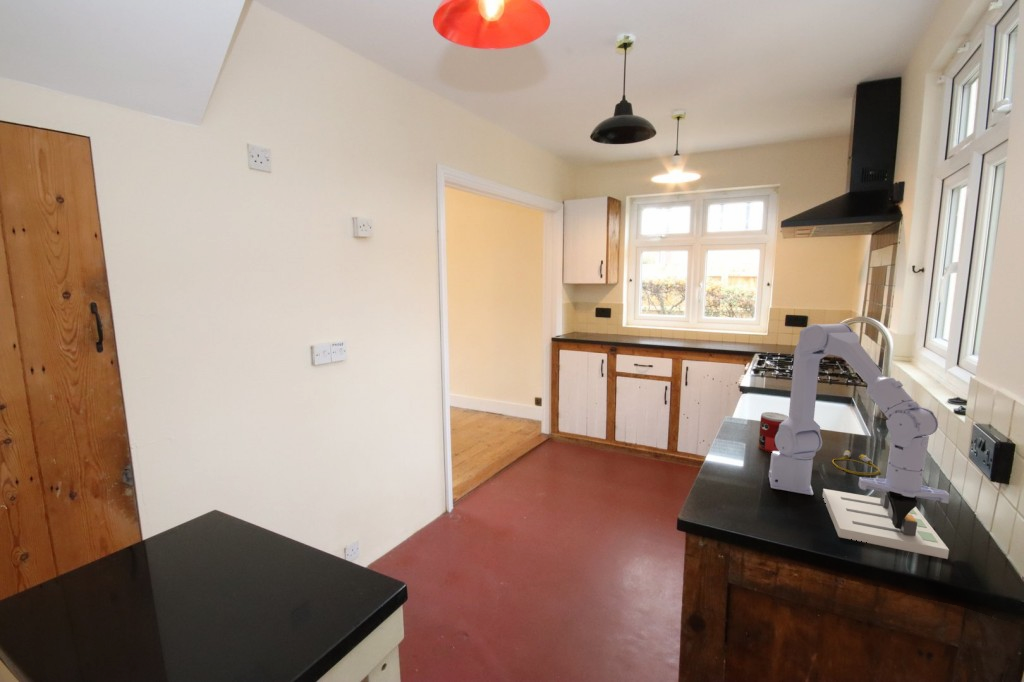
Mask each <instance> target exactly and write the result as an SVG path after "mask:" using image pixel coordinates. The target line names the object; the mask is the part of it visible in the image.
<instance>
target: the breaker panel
mask: <svg viewBox="0 0 1024 682" xmlns="http://www.w3.org/2000/svg"><path fill="white" fill-rule="evenodd" d="M880 493H881V494H880V497H875V496H868V495H863V494H858V493H851V492H845V491H839V490H834V489H827V488H823V489H822V498H824V499H823V501H824V503H826V504H825V506H826V508H827V511H828V513H829V517H830V518H831V521H832V523H833V525H834V529H835V532H836V533H837V536H838V538H842V539H848V540H851V539H852V541H856V540H857V542H861V541H862V542H861V543H866V542H867V544H870V545H871V544H872V545H875V546H877V545H878V546H881V547H887V548H892V549H896V550H902V551H906V552H911V553H916V554H920V555H921V554H922V555H926V556H932V557H937V558H940V559H946V560H949V559H948V558H949V554H950V553H949V552H950V549H949V548H948V546H947V545H946V543H945V542H944V541H943V540H942V538H940V536H939V535H938V533H937V532H936V531H935V530H934V528H933V527H932V526H931V525H930V523H929V522H928V520H927V519H926V518H925V517H924V516H923V514H922V513H921V511H920V510H919V508H917V506H916V507H915V508H913V509H912V510H911V511H910V512H909V513H908V514H909V515H912V516H913V517H914V518H915V520H916V521H917V529H916V535H915V536H912V535H906V534H903V533H902V531H901V530H900V529H897V528H895V527H894V525H893V524H892V520H893V511H892V507H891V504H890V501H889V498H888V496H887V494H886V492H883V491H880Z"/></svg>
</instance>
